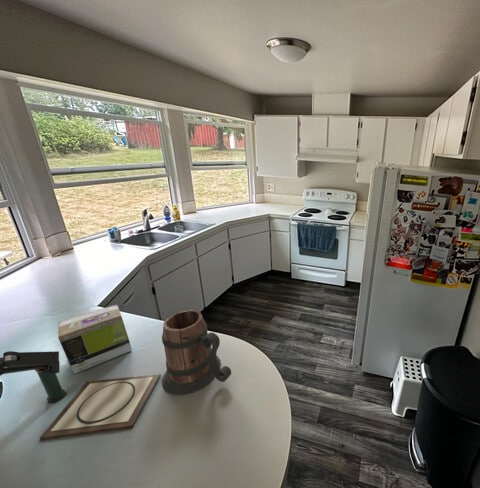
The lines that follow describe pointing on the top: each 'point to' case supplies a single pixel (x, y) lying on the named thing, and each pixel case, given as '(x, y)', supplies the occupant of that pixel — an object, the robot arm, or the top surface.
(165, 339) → the tankard
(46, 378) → the dot stamp
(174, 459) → the top surface
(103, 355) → the tea box
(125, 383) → the sketch board
